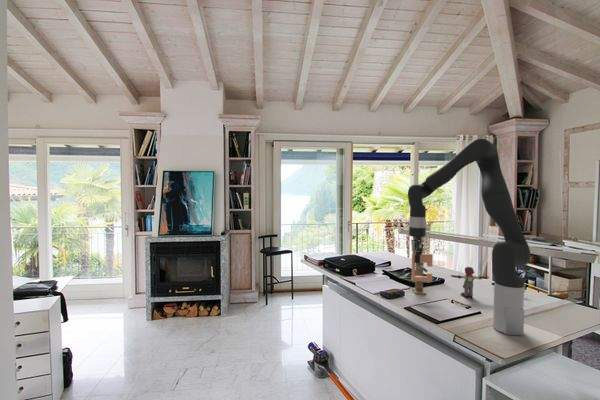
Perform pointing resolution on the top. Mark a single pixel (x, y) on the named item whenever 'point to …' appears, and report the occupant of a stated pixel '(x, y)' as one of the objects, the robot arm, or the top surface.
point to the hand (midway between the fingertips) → (416, 262)
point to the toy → (468, 281)
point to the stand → (419, 284)
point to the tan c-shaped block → (423, 259)
